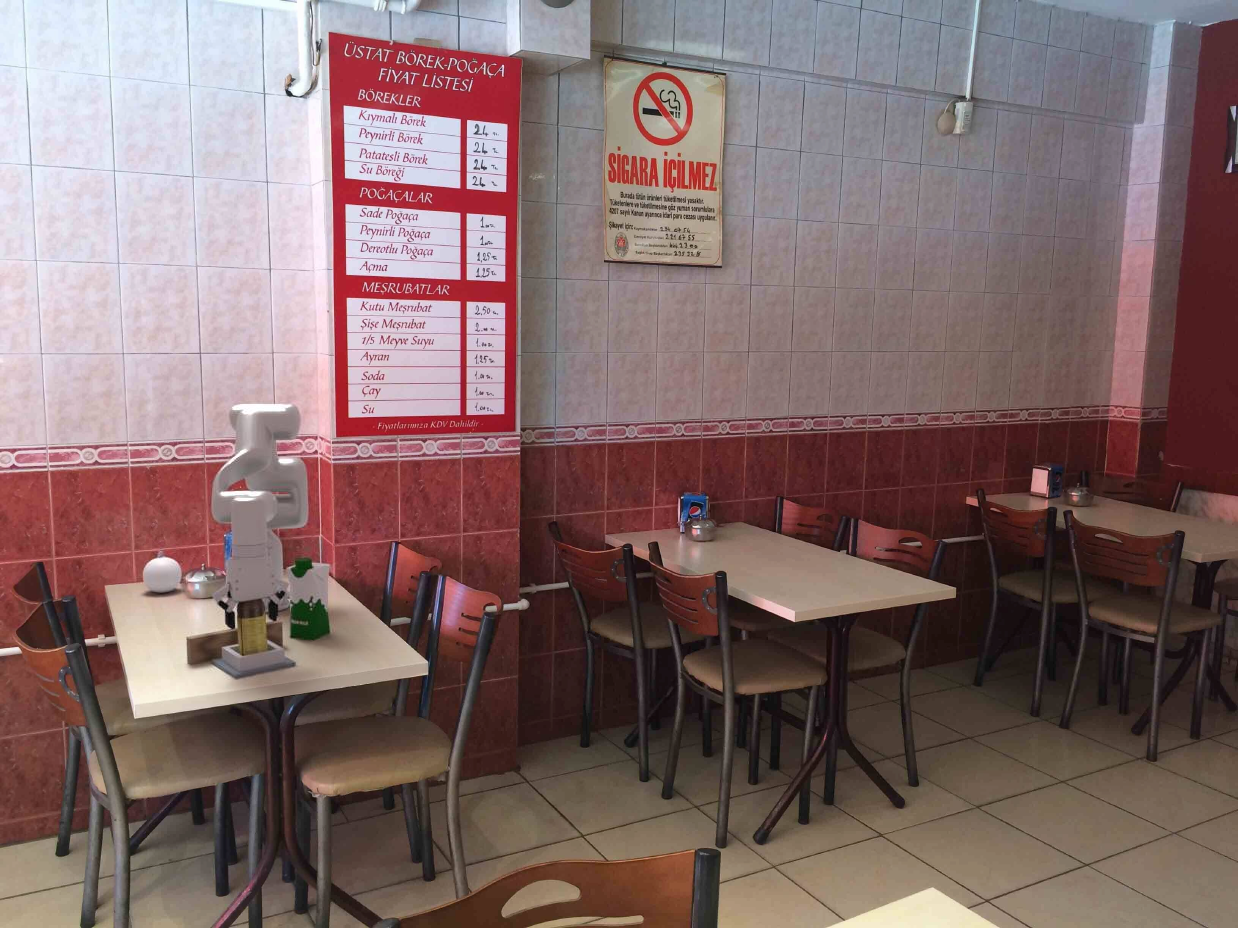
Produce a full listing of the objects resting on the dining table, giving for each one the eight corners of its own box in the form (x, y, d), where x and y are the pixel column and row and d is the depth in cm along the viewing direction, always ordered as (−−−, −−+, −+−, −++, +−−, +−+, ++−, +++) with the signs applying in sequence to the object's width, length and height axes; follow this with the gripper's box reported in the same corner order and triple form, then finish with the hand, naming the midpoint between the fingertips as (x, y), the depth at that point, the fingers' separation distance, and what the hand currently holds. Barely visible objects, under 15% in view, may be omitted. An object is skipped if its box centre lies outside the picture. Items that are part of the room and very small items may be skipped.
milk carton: (284, 638, 250) (282, 559, 247) (307, 628, 258) (305, 552, 256) (314, 642, 247) (312, 562, 244) (335, 632, 255) (334, 555, 253)
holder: (270, 650, 239) (270, 635, 239) (295, 665, 229) (295, 649, 229) (211, 662, 230) (210, 646, 229) (235, 678, 220) (234, 662, 219)
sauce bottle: (273, 658, 231) (271, 574, 229) (252, 666, 225) (249, 579, 223) (254, 654, 234) (251, 571, 232) (232, 661, 228) (229, 576, 226)
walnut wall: (279, 643, 245) (278, 619, 244) (283, 645, 243) (282, 621, 243) (187, 662, 230) (186, 636, 229) (190, 664, 229) (189, 638, 228)
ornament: (151, 587, 297) (149, 548, 295) (186, 587, 298) (185, 547, 296) (138, 596, 286) (136, 555, 285) (175, 596, 288) (173, 555, 286)
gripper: (279, 542, 235) (281, 613, 237) (205, 552, 223) (207, 626, 225) (293, 548, 229) (295, 620, 231) (217, 558, 218) (220, 634, 220)
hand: (252, 623), depth 228 cm, fingers open, 9 cm apart
